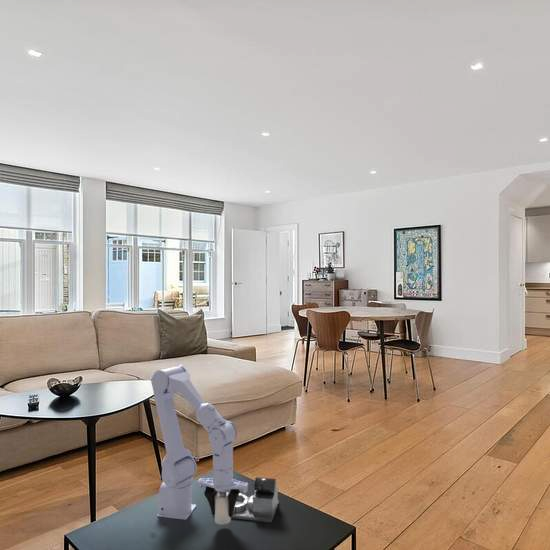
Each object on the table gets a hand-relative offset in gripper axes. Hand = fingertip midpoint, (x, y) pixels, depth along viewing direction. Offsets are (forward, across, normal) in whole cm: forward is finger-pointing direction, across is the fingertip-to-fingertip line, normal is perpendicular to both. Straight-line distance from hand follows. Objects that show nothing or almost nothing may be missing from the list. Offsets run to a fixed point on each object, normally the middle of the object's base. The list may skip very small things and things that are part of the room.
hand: (222, 514), depth 122 cm
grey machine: (+4, +4, +11) cm, 12 cm away
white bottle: (+2, 0, 0) cm, 2 cm away
